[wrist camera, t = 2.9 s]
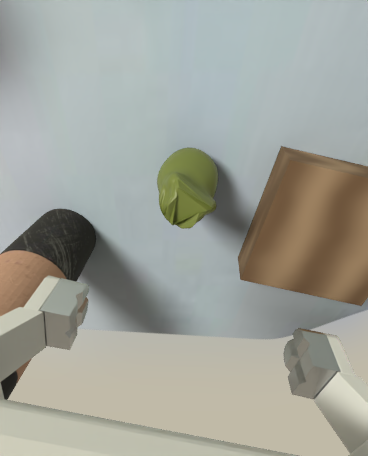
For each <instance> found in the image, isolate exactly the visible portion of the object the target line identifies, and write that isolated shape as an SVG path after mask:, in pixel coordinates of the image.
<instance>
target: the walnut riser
mask: <svg viewBox="0 0 368 456" xmlns="http://www.w3.org/2000/svg"><path fill="white" fill-rule="evenodd" d="M238 262H239V271H240V280H244V281H249V282H254V283H258V284H263V285H268V286H272V287H277V288H281V289H286V290H291V291H295V292H300V293H304V294H309V295H314V296H318V297H323V298H328V299H332V300H337V301H341V302H346V303H351V304H355V305H360V306H362V304H363V303H364V302H365V300H366V299H367V298H368V167H367V166H363V165H359V164H355V163H350V162H346V161H342V160H337V159H333V158H329V157H325V156H320V155H316V154H312V153H308V152H303V151H299V150H295V149H290V148H286V147H282V146H281V148H280V151H279V154H278V156H277V159H276V161H275V164H274V166H273V169H272V172H271V174H270V177H269V179H268V182H267V184H266V187H265V190H264V192H263V195H262V197H261V200H260V202H259V205H258V207H257V210H256V213H255V215H254V218H253V220H252V223H251V225H250V228H249V231H248V233H247V236H246V238H245V241H244V243H243V246H242V249H241V251H240V254H239V256H238Z"/></svg>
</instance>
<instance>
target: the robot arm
mask: <svg viewBox="0 0 368 456" xmlns="http://www.w3.org/2000/svg"><path fill="white" fill-rule="evenodd" d="M88 292H89V285H88V284H84V283H80V282H76V281H71V280H67V279H63V278H58V277H53V276H47V277H46V278H45V279H44V280H43V281H42V283H41V284H40V285H39V287H38V288H37V290H36V291H35V292H34V294H33V295H32V296H31V298H30V299H29V301H28V302H27V303H26V305H25V306H24V307H18V308H16V309H14V310H12V311H10V312H8V313H6V314H4V315H2V316H0V456H298V455H293V454H287V453H282V452H277V451H271V450H266V449H261V448H256V447H251V446H245V445H240V444H234V443H230V442H224V441H219V440H214V439H209V438H204V437H199V436H193V435H188V434H183V433H178V432H172V431H167V430H162V429H156V428H151V427H146V426H141V425H136V424H130V423H125V422H120V421H115V420H109V419H104V418H99V417H94V416H89V415H83V414H78V413H73V412H68V411H62V410H57V409H52V408H46V407H41V406H36V405H31V404H26V403H20V402H15V401H10V400H5V399H4V395H3V391H2V387H1V381H3V380H4V379H5V378H6V377H8V376H9V375H10V374H12V373H13V372H14V371H16V370H17V369H18V368H19V367H21V366H22V365H23V364H25V363H26V362H27V361H29V360H30V359H31V358H33V357H34V356H35V355H36V354H38V353H39V352H40V351H42V350H43V349H44V348H46V346H50V347H56V348H62V349H67V350H70V348H71V346H72V344H73V342H74V340H75V338H76V336H77V327H78V326H80V325H82V323H83V320H84V318H85V315H86V312H87V308H88V299H87V297H86V296H87V294H88ZM293 337H294V339H292V340H290V341H288V343H287V344H286V346H285V349H284V362H285V366H286V367H287V368H288V370H289V371H290V374H289V376H288V380H289V384H290V388H291V392H292V394H293V395H298V396H302V397H306V398H310V399H314V402H315V403H316V404H317V406H318V408H319V409H320V410H321V412H322V413H323V415H324V416H325V418H326V419H327V421H328V422H329V424H330V425H331V426H332V428H333V429H334V431H335V432H336V434H337V435H338V436H339V438H340V439H341V441H342V442H343V444H344V445H345V447H346V448H347V450H348V451H349V452H350V455H349V456H368V384H367V383H366V382H365V381H364V380H362V378H361V377H360V376H356V375H355V373H354V371H353V368H352V366H351V364H350V361H349V359H348V357H347V355H346V352H345V350H344V348H343V346H342V343H341V341H340V339H339V338H338V337H337V336H335V335H330V334H326V333H321V332H316V331H311V330H306V329H301V328H298V329H296V330H295V331H294V333H293Z"/></svg>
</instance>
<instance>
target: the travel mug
mask: <svg viewBox="0 0 368 456" xmlns="http://www.w3.org/2000/svg"><path fill="white" fill-rule="evenodd" d="M95 243H96V235H95V232H94V229H93V227H92V226H91V224H90V223H89V222H88V221H87V220H86V219H85V218H84V217H83V216H81V215H80V214H78V213H76V212H74V211H71V210H67V209H54V210H51V211H49V212H47V213H45V214H44V215H43V216H42V217H41V218H39V219H38V220H37V221H36V222H35V223H34V224H33V225H32V226H31V227H29V228H28V229H27V230H26V231H25V232H24V233H23V234H22V235H21V236H20V237H18V238H17V239H16V240H15V241H14V242H13V243H12V244H11V245H10V246H9V247H7V248H6V249H5V250H4V251H3V252H2V253H1V254H0V316H2V315H4V314H6V313H8V312H10V311H12V310H14V309H16V308H18V307H24V306H25V305H26V303H27V302H28V301H29V299H30V298H31V296H32V295H33V294H34V292H35V291H36V290H37V288H38V287H39V285H40V284H41V283H42V281H43V280H44V279H45V278H46V277H47V276H53V277H58V278H63V279H67V280H71V281H77V279H78V277H79V276H80V274H81V272H82V270H83V268H84V266H85V264H86V262H87V260H88V259H89V257H90V255H91V253H92V251H93V249H94V246H95ZM31 359H32V358H31ZM31 359H30V360H29V361H27V362H26V363H25V364H23V365H22V366H21V367H19V368H18V369H17V370H16V371H14V372H13V373H12V374H10V375H9V376H8V377H6V378H5V379H4V380H3V381H1V387H2V391H3V395H4V399H5V400H7V399H8V398H9V396H10V394H11V392H12V391H13V389H14V387H15V386H16V383H17V382H18V381H19V379H20V377H21V376H22V374H23V372H24V371H25V369H26V367H27V366H28V364H29V362H30V361H31Z"/></svg>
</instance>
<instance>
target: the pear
mask: <svg viewBox="0 0 368 456" xmlns="http://www.w3.org/2000/svg"><path fill="white" fill-rule="evenodd" d="M217 183H218V171H217V168H216V165H215V163H214V162H213V160H212V159H211V158H210V157H209V156H208V155H207V154H206V153H204V152H203V151H201V150H199V149H196V148H183V149H180V150H178V151H176V152H175V153H173V154H172V155H171V156H170V157H169V158H168V159H167V160H166V161H165V162H164V164H163V165H162V167H161V169H160V171H159V174H158V179H157V185H158V190H159V205H160V209H161V211H162V213H163V215H164V216H165V218H166V219H167V220H168V221H169V222H170V223H171V224H172V225H174V224H175V225H177V226H179V227H180V228H182V229H183V228H191V227H193V226H194V225H195V223H197V222H198V221H200V220H201V219H202V218H203V217H204V216H205V215H207V214H210V213H212V212H213V211H214V210H215V209H216V202H215V201H214V199H213V197H214V195H215V192H216V188H217Z"/></svg>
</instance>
